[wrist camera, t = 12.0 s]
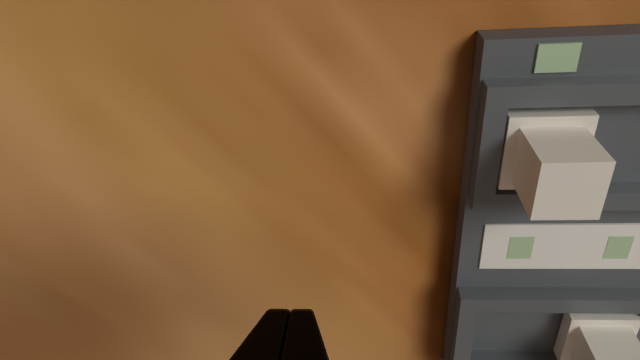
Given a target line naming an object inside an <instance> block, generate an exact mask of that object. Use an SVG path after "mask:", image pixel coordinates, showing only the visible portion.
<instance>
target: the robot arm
mask: <svg viewBox="0 0 640 360" xmlns="http://www.w3.org/2000/svg"><path fill="white" fill-rule="evenodd" d="M229 360H329V358H328V355H327V352H326V349H325V346H324V343H323V340H322V336H321V333H320V330H319V327H318V324H317V321H316V318H315V315H314V312H313V311H312V310H311V309H293V310H292V311H291V312H290V310H288V309H269V310H267V311H266V312H265V314H264V315H263V316H262V318H261V319H260V320H259V322H258V323H257V324H256V326H255V327H254V328H253V329H252V331H251V332H250V333H249V335H248V336H247V337H246V339H245V340H244V341H243V342H242V344H241V345H240V346H239V348H238V349H237V350H236V352H235V353H234V354H233V356H232V357H231V358H230V359H229Z"/></svg>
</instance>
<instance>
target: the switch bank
mask: <svg viewBox="0 0 640 360" xmlns="http://www.w3.org/2000/svg"><path fill="white" fill-rule="evenodd" d="M555 107H592V108H593V109H594V110H595V111H596V112H597V113H598V114H599V115H600V116H599V120H598V124H597V128H596V132H595V135H594V137H595V138H596V139H597V141H598V142H599V143H600V144H601V145H602V146H603V147H604V149H605V150H606V151H607V152H608V153H609V154H610V155H611V156H612V158H613V159H614V160H615V161H616V165H615V168H614V172H613V175H612V178H611V182H610V185H609V189H608V192H607V195H606V199H605V202H604V206H603V209H602V213H601V216H600V219H599V220H530V219H529V217H528V215H527V213H526V211H525V208H524V206H523V204H522V202H521V200H520V198H519V196H518V194H517V192H516V190H499V189H498V187H497V181H498V175H499V168H500V162H501V155H502V148H503V142H504V135H505V129H506V122H507V116H508V109H516V108H555ZM564 313H588V314H639V316H640V24H626V25H601V26H576V27H551V28H526V29H501V30H477V38H476V48H475V57H474V66H473V76H472V85H471V94H470V104H469V113H468V123H467V132H466V141H465V151H464V160H463V169H462V179H461V188H460V197H459V207H458V216H457V225H456V235H455V244H454V254H453V263H452V272H451V282H450V291H449V300H448V310H447V319H446V328H445V338H444V347H443V357H442V360H557V357H556V355H555V353H554V346H555V343H556V339H557V336H558V332H559V329H560V325H561V321H562V318H563V314H564ZM636 337H637V338H638V340H639V342H640V328H639V331H638V333H637V336H636Z"/></svg>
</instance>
